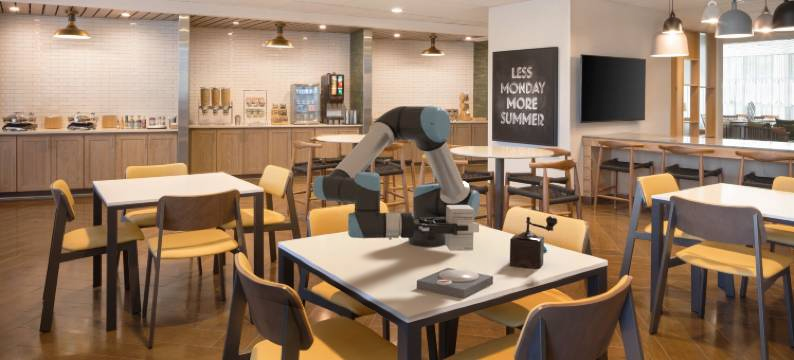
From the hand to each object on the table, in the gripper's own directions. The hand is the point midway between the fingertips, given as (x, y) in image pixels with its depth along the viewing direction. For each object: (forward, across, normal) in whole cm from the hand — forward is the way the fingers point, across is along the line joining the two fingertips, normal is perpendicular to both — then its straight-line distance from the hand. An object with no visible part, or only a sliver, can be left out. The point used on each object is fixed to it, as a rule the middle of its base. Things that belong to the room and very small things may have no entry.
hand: (475, 225), depth 188 cm
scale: (-6, +1, -18) cm, 19 cm away
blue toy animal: (+33, -43, -18) cm, 57 cm away
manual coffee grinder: (+25, -22, -18) cm, 38 cm away
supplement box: (-5, 0, -7) cm, 9 cm away
